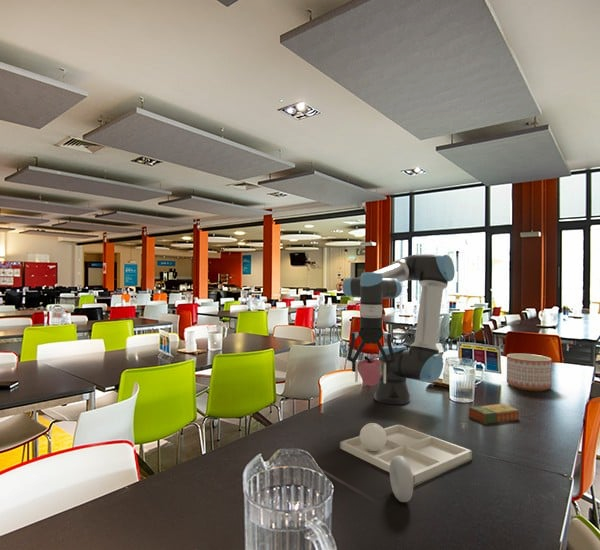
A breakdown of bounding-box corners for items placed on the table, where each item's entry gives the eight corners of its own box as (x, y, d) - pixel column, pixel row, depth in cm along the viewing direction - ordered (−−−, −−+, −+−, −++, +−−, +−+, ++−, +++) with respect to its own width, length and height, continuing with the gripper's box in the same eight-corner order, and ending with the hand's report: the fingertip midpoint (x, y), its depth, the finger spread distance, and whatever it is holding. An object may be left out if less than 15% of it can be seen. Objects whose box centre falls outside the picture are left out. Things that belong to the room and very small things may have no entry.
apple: (376, 389, 138) (377, 359, 139) (353, 385, 143) (353, 356, 143) (387, 383, 147) (387, 355, 147) (364, 380, 151) (364, 352, 151)
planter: (551, 386, 208) (552, 356, 208) (550, 394, 191) (550, 362, 191) (508, 380, 218) (509, 352, 218) (504, 388, 202) (504, 357, 202)
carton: (519, 420, 156) (519, 409, 156) (484, 425, 151) (484, 413, 151) (501, 413, 164) (501, 402, 164) (468, 417, 159) (468, 406, 159)
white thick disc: (387, 489, 103) (387, 448, 104) (401, 488, 104) (401, 448, 104) (400, 511, 94) (400, 466, 94) (415, 511, 94) (415, 466, 94)
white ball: (354, 449, 126) (354, 422, 126) (372, 443, 131) (372, 417, 131) (373, 458, 120) (373, 430, 120) (392, 451, 125) (392, 424, 125)
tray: (339, 450, 127) (340, 441, 127) (398, 431, 143) (398, 424, 143) (412, 486, 105) (412, 476, 105) (471, 459, 121) (471, 450, 121)
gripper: (339, 316, 143) (338, 382, 143) (404, 318, 140) (403, 386, 139) (340, 315, 150) (339, 377, 150) (402, 316, 147) (401, 380, 147)
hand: (370, 381), depth 145 cm, fingers closed on apple, 9 cm apart
